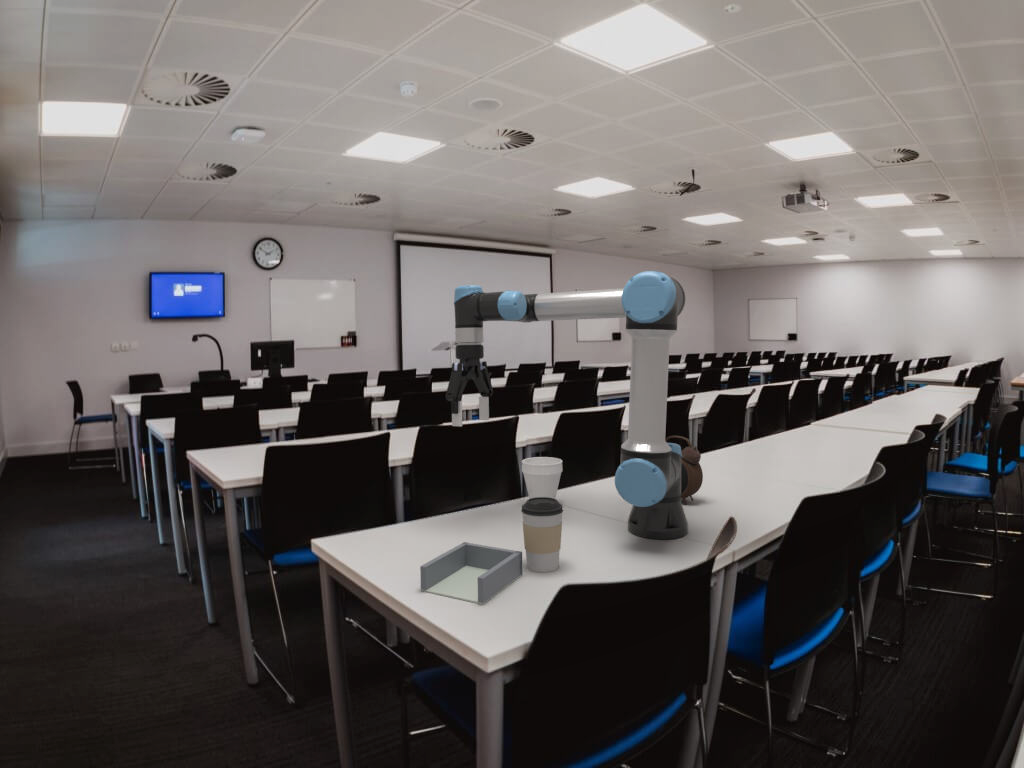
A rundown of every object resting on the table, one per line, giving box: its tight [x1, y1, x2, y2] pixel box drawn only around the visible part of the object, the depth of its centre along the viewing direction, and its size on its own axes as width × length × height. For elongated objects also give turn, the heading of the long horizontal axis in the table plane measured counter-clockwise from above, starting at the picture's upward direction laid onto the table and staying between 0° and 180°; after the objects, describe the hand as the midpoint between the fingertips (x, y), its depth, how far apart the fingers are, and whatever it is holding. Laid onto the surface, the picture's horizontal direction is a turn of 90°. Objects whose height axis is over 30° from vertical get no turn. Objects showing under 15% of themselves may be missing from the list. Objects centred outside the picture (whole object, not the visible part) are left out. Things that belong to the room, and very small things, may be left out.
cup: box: [521, 456, 563, 499], centre depth 182 cm, size 12×12×14 cm
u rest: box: [419, 541, 523, 605], centre depth 124 cm, size 14×16×5 cm
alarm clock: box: [665, 435, 704, 506], centre depth 185 cm, size 15×7×20 cm, turn 42°
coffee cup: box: [521, 497, 564, 573], centre depth 133 cm, size 9×9×15 cm
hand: (471, 423), depth 164 cm, fingers open, 13 cm apart
